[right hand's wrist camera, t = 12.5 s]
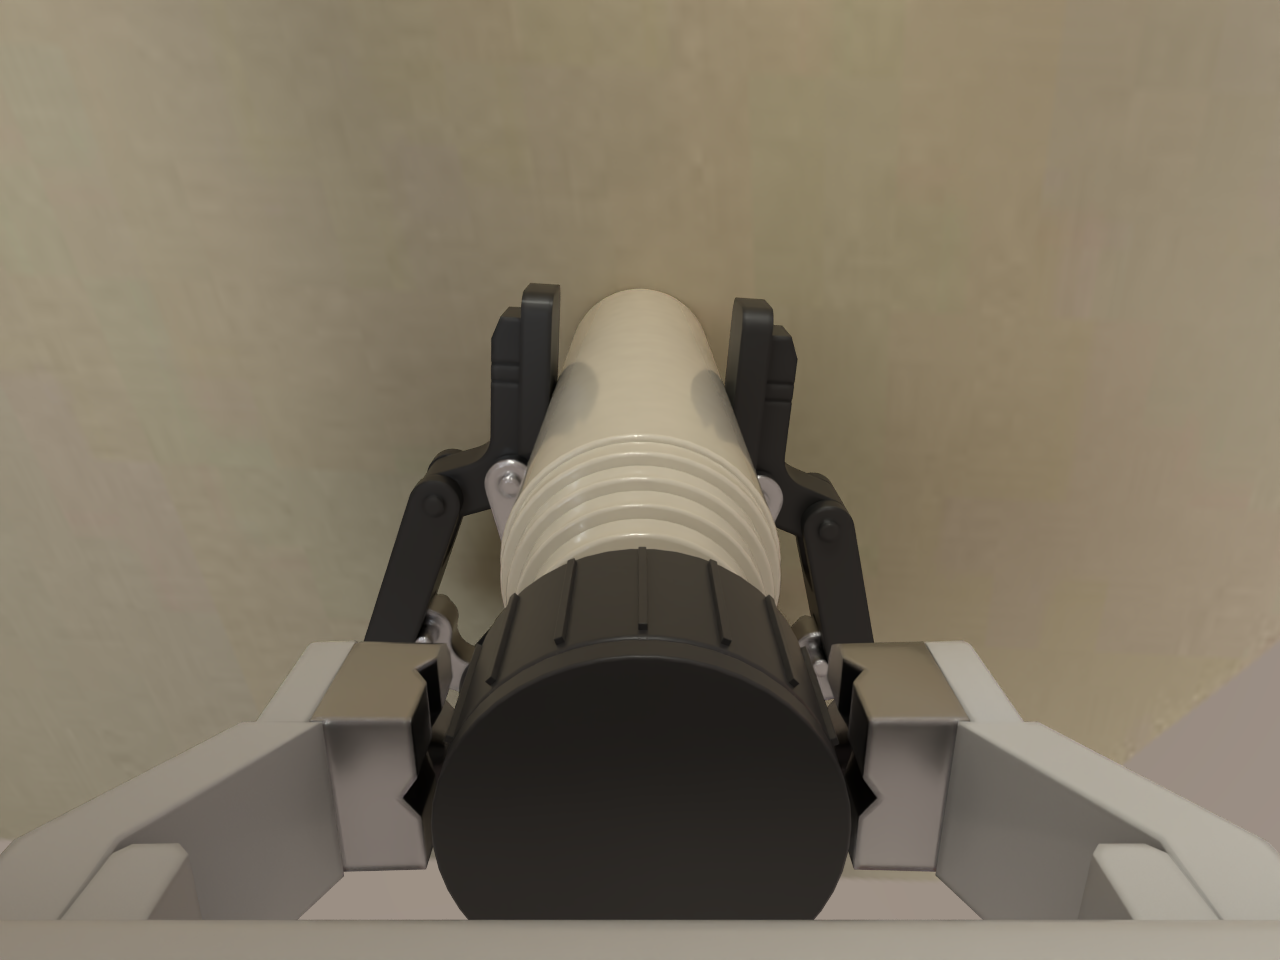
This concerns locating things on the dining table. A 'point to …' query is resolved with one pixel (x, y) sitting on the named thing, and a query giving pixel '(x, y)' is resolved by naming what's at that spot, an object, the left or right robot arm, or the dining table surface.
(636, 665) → the cap
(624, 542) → the bottle
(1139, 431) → the dining table surface
